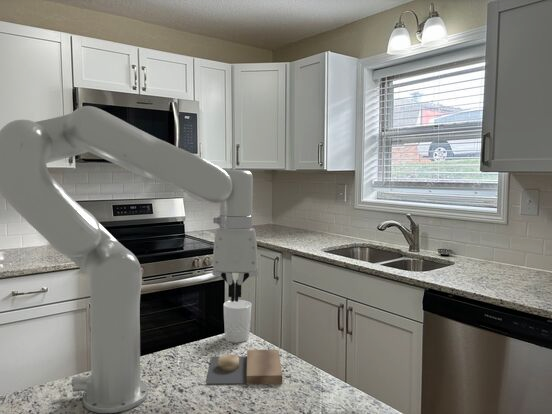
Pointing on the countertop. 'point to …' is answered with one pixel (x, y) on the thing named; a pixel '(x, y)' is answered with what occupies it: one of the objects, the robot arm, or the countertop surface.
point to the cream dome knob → (228, 363)
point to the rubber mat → (227, 373)
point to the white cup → (237, 320)
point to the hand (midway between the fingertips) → (234, 299)
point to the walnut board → (263, 367)
